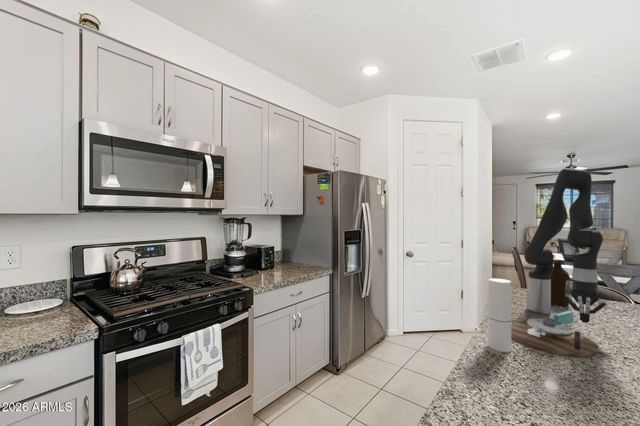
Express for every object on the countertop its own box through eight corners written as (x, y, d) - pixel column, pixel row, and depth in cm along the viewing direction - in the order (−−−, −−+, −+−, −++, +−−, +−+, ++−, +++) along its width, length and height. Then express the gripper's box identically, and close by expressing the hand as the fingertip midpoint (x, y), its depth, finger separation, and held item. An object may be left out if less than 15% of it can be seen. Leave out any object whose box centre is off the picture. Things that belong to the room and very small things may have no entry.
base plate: (575, 364, 95) (575, 341, 95) (492, 332, 120) (492, 315, 120) (612, 347, 107) (612, 327, 107) (530, 322, 132) (530, 306, 132)
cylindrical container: (508, 344, 109) (507, 279, 109) (513, 353, 102) (513, 283, 102) (486, 341, 111) (486, 277, 111) (491, 350, 104) (491, 281, 105)
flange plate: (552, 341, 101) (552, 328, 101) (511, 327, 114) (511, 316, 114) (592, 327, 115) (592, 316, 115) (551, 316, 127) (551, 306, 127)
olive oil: (544, 304, 160) (544, 259, 161) (547, 300, 168) (547, 258, 168) (569, 308, 153) (569, 262, 153) (571, 304, 160) (571, 260, 160)
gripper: (561, 277, 118) (561, 319, 118) (607, 283, 108) (607, 329, 108) (565, 275, 123) (565, 315, 123) (608, 280, 113) (608, 324, 113)
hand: (584, 322), depth 115 cm, fingers closed
